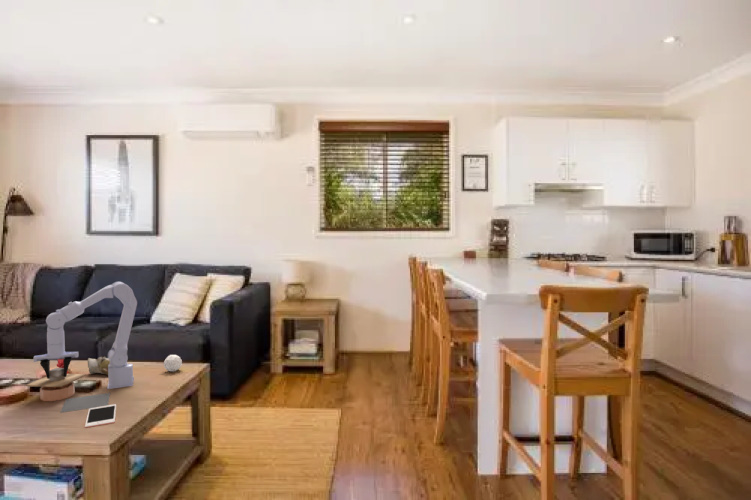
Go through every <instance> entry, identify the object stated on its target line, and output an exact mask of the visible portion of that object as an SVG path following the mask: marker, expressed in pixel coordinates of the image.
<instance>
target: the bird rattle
mask: <svg viewBox="0 0 751 500" xmlns="http://www.w3.org/2000/svg"><path fill="white" fill-rule="evenodd" d="M64 359H65V358H63V359H56V360H57V364H56V368H64V362H63V360H64ZM69 371H70V370H69V368H68V370H67V374H69Z"/></svg>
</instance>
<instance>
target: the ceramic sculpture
mask: <svg viewBox="0 0 751 500" xmlns="http://www.w3.org/2000/svg"><path fill="white" fill-rule="evenodd" d="M110 362H111V361H110V360H109V359H108V357H106V356H105V355H100V356H99V357H98V358H97V359H96V358H90V357H88V358H87V368H88V373H89V374H90V375H94V374H96V373H97V374H98V373H99V374H101V375H107V376H108V365H109V363H110Z"/></svg>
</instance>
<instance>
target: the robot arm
mask: <svg viewBox="0 0 751 500" xmlns="http://www.w3.org/2000/svg"><path fill="white" fill-rule="evenodd" d="M114 297H115V298H117V299H118V300H119V301H120V302H121V303H122V304H123V308H122V311H121V316H120V319H119V323H118V328H117V331H116V335H115V339H114V342H113V343H112V346H111V348H110V350H109V351H108V352H107V358H108V359H109V360H110V361H111V362H110V363H109V365H108V375H107V376H108V377H107V378H108V383H107V390H110V389H117V388H118V389H119V388H124V387H126V388H128V387H132V386H134V381H135V377H134V368H133V365H134V364H133V363H128V359H129V357H128V342H129V340H130V339H129V338H130V334H131V332H132V331H131V330H132V326H133V321H134V319H135V314H136V311H137V306H138V300H137V298H136V297H135V294H134V291H133V288H132V287H130V286H129V285H128V284H126V283H125V282H123V281H115V282H113V283H112V284H109V285H106V286H104V287H103V288H101V289H99V290H98V291H96V292H94V293H92V294H91V295H89V296H88V297H86V298H84V299H83V300H81V301H76V300H75V301H73V302H72V301H70V302H68V304H66V305H65V306H64V307H61V308H60V309H55V312H51V313H50V314H48V315H47V316H46V319H45V323H46V325H47V327H46V331H47V332H46V343H47V344H46V347H47V348H46V351H47V353H45V354H39V355H34V356H33V363H36V362H40V363H39V364H40V366H41V367H42V369H43V371H44V373H45V377H46V376H47V379H49V371H50V370H51V369H50V367H51V365H50V364H51V360H58V359H60V360H62V359H64V360H63V362H64V377H66V376H67V370H68V369H69V366H70V364H71V361H72V359H73V358H79V351H66V346H65V345H66V344H65V343H66V342H65V341H66V340H65V330H64V326H65V324H66V323H68V322H70V321H71V320H73V319H76V318H77V317H78V316H81V315H83V313H84V314H85V309H86V308H88V307H90V306H92V305H94V304H96V303H98V302H100V301H102V300H103V299H114Z"/></svg>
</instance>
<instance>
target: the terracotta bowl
mask: <svg viewBox="0 0 751 500" xmlns="http://www.w3.org/2000/svg"><path fill="white" fill-rule="evenodd" d="M75 389H76V387H75V381H73V382H71V383H69V384H67V385H65V386H63V387H40V388H39V399H40V400H41V401H43V402H53V401H54V402H55V401H60V400H66V399H69V398H71V397H72V396H74V394H75V393H76V391H75Z"/></svg>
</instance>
